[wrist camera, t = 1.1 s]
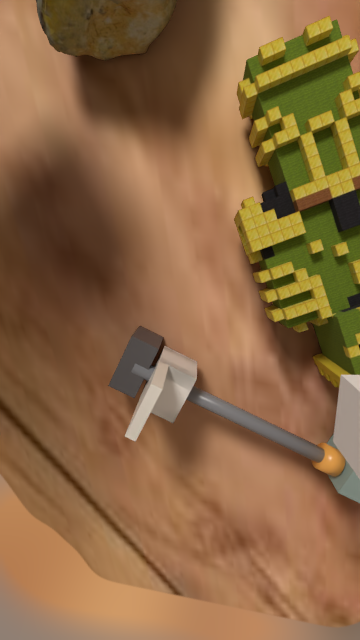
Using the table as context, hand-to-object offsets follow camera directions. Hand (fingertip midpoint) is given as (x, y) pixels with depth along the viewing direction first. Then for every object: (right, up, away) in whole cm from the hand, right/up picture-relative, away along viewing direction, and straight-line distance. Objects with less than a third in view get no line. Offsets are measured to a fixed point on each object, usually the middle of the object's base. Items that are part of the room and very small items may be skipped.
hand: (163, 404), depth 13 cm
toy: (+15, +13, +22) cm, 30 cm away
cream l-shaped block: (0, -3, +25) cm, 25 cm away
